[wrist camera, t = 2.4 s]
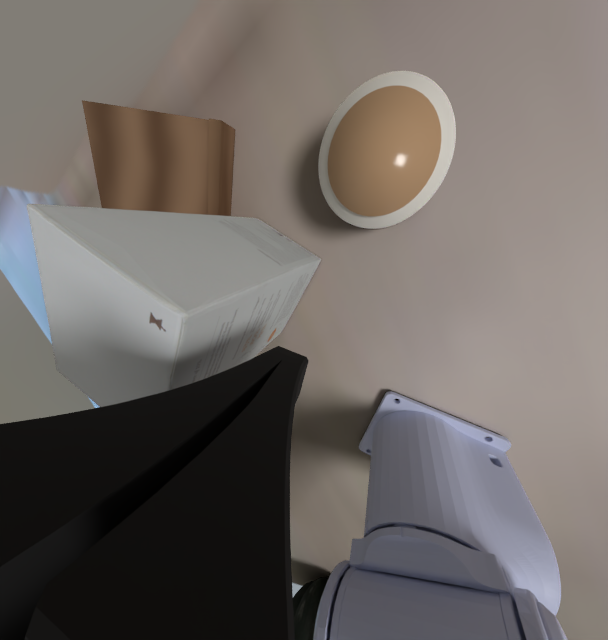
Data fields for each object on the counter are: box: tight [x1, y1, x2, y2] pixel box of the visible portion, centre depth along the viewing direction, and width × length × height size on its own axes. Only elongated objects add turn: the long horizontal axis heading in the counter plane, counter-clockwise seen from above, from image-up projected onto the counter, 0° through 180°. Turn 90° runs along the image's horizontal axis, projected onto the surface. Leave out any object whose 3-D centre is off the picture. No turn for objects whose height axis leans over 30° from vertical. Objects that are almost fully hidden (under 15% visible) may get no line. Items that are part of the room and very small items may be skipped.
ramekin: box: [318, 71, 456, 229], centre depth 12 cm, size 6×6×4 cm
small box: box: [27, 204, 321, 407], centre depth 14 cm, size 8×6×13 cm
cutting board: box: [82, 101, 235, 216], centre depth 21 cm, size 14×20×2 cm
